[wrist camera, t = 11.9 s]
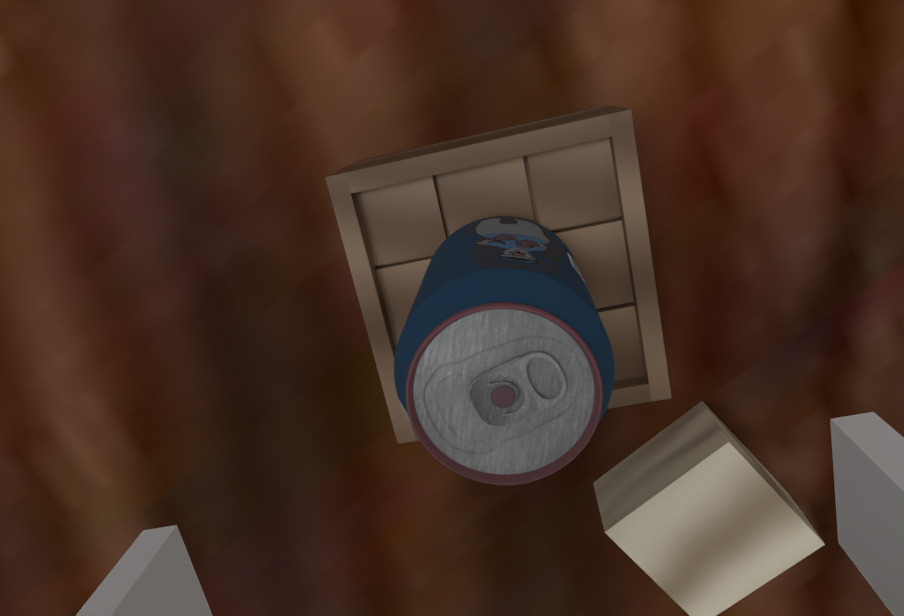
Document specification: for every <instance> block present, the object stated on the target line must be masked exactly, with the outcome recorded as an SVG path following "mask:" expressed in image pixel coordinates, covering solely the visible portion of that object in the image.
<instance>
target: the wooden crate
mask: <svg viewBox="0 0 904 616" xmlns="http://www.w3.org/2000/svg"><path fill="white" fill-rule="evenodd" d="M325 178H326V182H327V186H328V189H329V193H330V197H331V200H332V204H333V208H334V212H335V215H336V219H337V223H338V226H339V230H340V234H341V237H342V241H343V245H344V248H345V252H346V256H347V259H348V263H349V267H350V270H351V274H352V278H353V281H354V285H355V289H356V292H357V296H358V300H359V303H360V307H361V311H362V314H363V318H364V322H365V326H366V329H367V333H368V337H369V340H370V344H371V348H372V351H373V355H374V359H375V362H376V366H377V370H378V373H379V377H380V381H381V384H382V388H383V392H384V395H385V399H386V403H387V406H388V410H389V414H390V417H391V421H392V425H393V428H394V432H395V436H396V439H397V443H398V444H401V443H406V442H412V441H418V440H419V439H418V437H417V435H416V434H415V432H414V430H413V427H412V425H411V423H410V422H409V420H408V419H407V417H406V415H405V413H404V411H403V409H402V407H401V404H400V402H399V399H398V395H397V391H396V387H395V380H394V359H395V353H396V348H397V344H398V340H399V338H400V335H401V332H402V330H403V327H404V325H405V322H406V320H407V317H408V315H409V312H410V310H411V307H412V305H413V302H414V300H415V297H416V295H417V293H418V290H419V288H420V285H421V283H422V280H423V278H424V275H425V273H426V270H427V268H428V265H429V263H430V261H431V259H432V257H433V255H434V253H435V252H436V250H437V249H438V248H439V246H440V245H441V244H442V243H443V242H444V241H445V240H446V239H447V238H448V237H449V236H450V235H451V234H452V233H454V232H455V231H456V230H458V229H459V228H461V227H463V226H465V225H466V224H469V223H471V222H473V221H476V220H479V219H483V218H487V217H494V216H513V217H519V218H524V219H527V220H530V221H533V222H536V223H538V224H540V225H542V226H544V227H545V228H547V229H548V230H550V231H551V232H553V233H554V234H555V235H556V236H558V237H559V238H560V239H561V240H562V241H563V242H564V244H565V245H566V246H567V247H568V249H569V250H570V252H571V253H572V255H573V256H574V258H575V260H576V263H577V265H578V267H579V270H580V272H581V274H582V277H583V279H584V281H585V284H586V286H587V288H588V291H589V293H590V295H591V298H592V300H593V302H594V305H595V307H596V309H597V312H598V314H599V316H600V319H601V321H602V323H603V326H604V328H605V330H606V333H607V335H608V338H609V341H610V344H611V347H612V352H613V357H614V369H615V370H614V384H613V390H612V394H611V398H610V401H609V404H608V406H607V409H610V408H616V407H622V406H628V405H634V404H640V403H646V402H652V401H658V400H664V399H670V398H672V397H671V390H670V383H669V376H668V369H667V362H666V355H665V347H664V340H663V333H662V326H661V319H660V312H659V305H658V298H657V290H656V283H655V276H654V269H653V262H652V255H651V248H650V241H649V233H648V226H647V219H646V212H645V205H644V198H643V191H642V184H641V176H640V169H639V162H638V155H637V148H636V141H635V134H634V127H633V119H632V112H631V109H626V108H619V107H613V106H602V107H597V108H593V109H588V110H584V111H579V112H575V113H570V114H566V115H561V116H557V117H553V118H548V119H544V120H539V121H535V122H530V123H526V124H521V125H517V126H512V127H508V128H503V129H499V130H495V131H490V132H486V133H481V134H477V135H472V136H468V137H463V138H459V139H454V140H450V141H445V142H441V143H436V144H432V145H428V146H423V147H419V148H414V149H410V150H405V151H401V152H396V153H392V154H387V155H383V156H378V157H374V158H370V159H365V160H361V161H357V162H355V163H353V164H351V165H349V166H347V167H345V168H343V169H341V170H339V171H337V172H335V173H333V174H331V175H329V176H327V177H325Z"/></svg>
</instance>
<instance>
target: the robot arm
mask: <svg viewBox="0 0 904 616" xmlns="http://www.w3.org/2000/svg"><path fill="white" fill-rule="evenodd" d="M830 422H831V438H832V453H833V468H834V484H835V499H836V514H837V530H838V543H839V544H840V546H841V547H842V548H843V549H844V551H845V552H846V553H847V555H848V556H849V557H850V559H851V560H852V561H853V563H854V564H855V565H856V567H857V568H858V569H859V571H860V572H861V573H862V575H863V576H864V577H865V579H866V580H867V581H868V583H869V584H870V585H871V587H872V588H873V589H874V591H875V592H876V593H877V595H878V596H879V597H880V599H881V600H882V601H883V603H884V604H885V605H886V607H887V608H888V609H889V611H890V612H891V613H892V615H893V616H904V438H903V437H902V436H901V435H900V434H899V433H897V432H896V431H895V430H894V429H893V428H892V427H891V426H889V425H888V424H887V423H886V422H885V421H884V420H882V419H881V418H880V417H879V416H878V415H877V414H875V413H874V412H870V413H864V414H857V415H851V416H845V417H839V418H833V419H830ZM76 616H212V613H211V611H210V608H209V605H208V603H207V600H206V598H205V595H204V593H203V590H202V588H201V585H200V583H199V580H198V578H197V575H196V573H195V570H194V568H193V565H192V562H191V560H190V557H189V555H188V552H187V550H186V547H185V545H184V542H183V540H182V537H181V535H180V532H179V530H178V527H177V525H174V526H168V527H162V528H156V529H149V530H143V531H142V533H141V534H140V535H139V536H138V538H137V539H136V540H135V541H134V543H133V544H132V545H131V546H130V548H129V549H128V550H127V551H126V553H125V554H124V555H123V557H122V558H121V559H120V560H119V562H118V563H117V564H116V565H115V567H114V568H113V569H112V570H111V572H110V573H109V574H108V575H107V577H106V578H105V579H104V581H103V582H102V583H101V584H100V586H99V587H98V588H97V589H96V591H95V592H94V593H93V594H92V596H91V597H90V598H89V599H88V601H87V602H86V603H85V605H84V606H83V607H82V608H81V610H80V611H79V612H78V613H77V615H76Z"/></svg>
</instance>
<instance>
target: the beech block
mask: <svg viewBox="0 0 904 616" xmlns="http://www.w3.org/2000/svg"><path fill="white" fill-rule="evenodd" d="M593 485H594V489H595V494H596V498H597V502H598V506H599V511H600V515H601V519H602V523H603V528H604V532H605V533H606V534H607V535H608V536H609V537H610V538H611V539H612V540H613V541H614V542H615V543H616V544H617V545H618V546H619V547H620V548H621V549H622V550H623V551H624V552H625V553H626V554H627V555H628V556H629V557H630V558H631V559H632V560H633V561H634V562H635V563H636V564H637V565H638V566H639V567H640V568H642V569H643V570H644V571H645V572H646V573H647V574H648V575H649V576H650V577H651V578H652V579H653V580H654V581H655V582H656V583H657V584H658V585H659V586H660V587H661V588H662V589H663V590H664V591H665V592H666V593H667V594H668V595H669V596H670V597H671V598H672V599H673V600H674V601H675V602H676V603H677V604H678V605H679V606H680V607H681V608H682V609H683V610H684V611H685V612H686V613H687V614H688V615H689V616H716V615H718V614H719V613H721V612H722V611H724V610H725V609H727V608H729V607H730V606H732V605H733V604H735V603H736V602H738V601H739V600H741V599H742V598H744V597H745V596H747V595H748V594H750V593H752V592H753V591H755V590H756V589H758V588H759V587H761V586H762V585H764V584H765V583H767V582H768V581H770V580H771V579H773V578H774V577H776V576H778V575H779V574H781V573H782V572H784V571H785V570H787V569H788V568H790V567H791V566H793V565H794V564H796V563H797V562H799V561H801V560H802V559H804V558H805V557H807V556H808V555H810V554H811V553H813V552H814V551H816V550H817V549H819V548H820V547H822V546H824V545H825V544H824V542H823V541H822V539H821V538H820V537H819V535H818V534H817V532H816V531H815V530H814V528H813V527H812V525H811V524H810V523H809V521H808V520H807V518H806V517H805V516H804V514H803V513H802V511H801V510H800V509H799V507H798V506H797V504H796V503H795V502H794V500H793V499H792V497H791V496H790V495H789V493H788V492H787V491H786V490H785V489H784V488H783V487H782V486H781V485H780V484H779V482H778V481H777V480H776V479H775V478H774V477H773V476H772V475H771V474H770V473H769V472H768V471H767V470H766V469H765V467H764V466H763V465H762V464H761V463H760V462H759V461H758V460H757V459H756V458H755V457H754V456H753V455H752V454H751V452H750V451H749V450H748V449H747V448H746V447H745V446H744V445H743V444H742V443H741V442H740V441H739V440H738V439H737V437H736V436H735V435H734V434H733V433H732V432H731V431H730V430H729V429H728V428H727V427H726V426H725V425H724V424H723V422H722V421H721V420H720V419H719V418H718V417H717V416H716V415H715V414H714V413H713V412H712V411H711V410H710V408H709V407H708V406H707V405H706V404H705V403H704V402H703V401H701V402H699V403H698V404H697V405H695V406H694V407H693V408H691V409H690V410H689V411H688V412H686V413H685V414H684V415H682V416H681V417H680V418H678V419H677V420H676V421H674V422H673V423H672V424H670V425H669V426H668V427H666V428H665V429H664V430H662V431H661V432H660V433H658V434H657V435H656V436H654V437H653V438H652V439H650V440H649V441H648V442H646V443H645V444H644V445H643V446H641V447H640V448H639V449H637V450H636V451H635V452H633V453H632V454H631V455H629V456H628V457H627V458H625V459H624V460H623V461H621V462H620V463H619V464H617V465H616V466H615V467H613V468H612V469H611V470H609V471H608V472H607V473H605V474H604V475H603V476H602V477H600V478H599V479H598V480H596V481H595V482H594V483H593Z"/></svg>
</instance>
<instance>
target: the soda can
mask: <svg viewBox="0 0 904 616" xmlns="http://www.w3.org/2000/svg"><path fill="white" fill-rule="evenodd" d="M614 370H615V369H614V357H613V352H612V347H611V344H610V341H609V338H608V335H607V333H606V330H605V328H604V326H603V323H602V321H601V319H600V316H599V314H598V312H597V309H596V307H595V305H594V302H593V300H592V298H591V295H590V293H589V291H588V288H587V286H586V284H585V281H584V279H583V277H582V274H581V272H580V270H579V267H578V265H577V263H576V260H575V258H574V256H573V255H572V253H571V252H570V250H569V249H568V247H567V246H566V245H565V244H564V242H563V241H562V240H561V239H560V238H559V237H558V236H556V235H555V234H554V233H553V232H551V231H550V230H548V229H547V228H545V227H544V226H542V225H540V224H538V223H536V222H533V221H530V220H527V219H524V218H519V217H513V216H494V217H487V218H483V219H479V220H476V221H473V222H471V223H469V224H466V225H465V226H463V227H461V228H459V229H458V230H456V231H455V232H454V233H452V234H451V235H450V236H449V237H448V238H447V239H446V240H445V241H444V242H443V243H442V244H441V245H440V246H439V248H438V249H437V250H436V252H435V253H434V255H433V257H432V259H431V261H430V263H429V265H428V268H427V270H426V273H425V275H424V278H423V280H422V283H421V285H420V288H419V290H418V293H417V295H416V297H415V300H414V302H413V305H412V307H411V310H410V312H409V315H408V317H407V320H406V322H405V325H404V327H403V330H402V332H401V335H400V338H399V340H398V344H397V348H396V353H395V359H394V380H395V387H396V391H397V395H398V399H399V402H400V404H401V407H402V409H403V411H404V413H405V415H406V417H407V419H408V420H409V422H410V423H411V425H412V427H413V430H414V432H415V434H416V435H417V437H418V439H419V440H420V442H421V443H422V445H423V446H424V447H425V448H426V450H427V451H428V452H429V453H430V454H431V455H432V456H433V457H434V458H435V459H436V460H438V461H439V462H440V463H441V464H443V465H444V466H445V467H447V468H448V469H450V470H452V471H453V472H455V473H457V474H459V475H461V476H464V477H466V478H469V479H472V480H475V481H478V482H483V483H487V484H494V485H518V484H524V483H529V482H533V481H536V480H539V479H542V478H544V477H546V476H549V475H551V474H553V473H555V472H556V471H558V470H560V469H561V468H563V467H564V466H566V465H567V464H568V463H570V462H571V461H572V460H573V459H574V458H575V457H576V456H577V455H578V454H579V453H580V452H581V451H582V450H583V449H584V448H585V446H586V445H587V443H588V442H589V441H590V439H591V437H592V435H593V434H594V431H595V429H596V427H597V425H598V424H599V422H600V420H601V419H602V417H603V415H604V413H605V411H606V409H607V406H608V404H609V401H610V398H611V394H612V390H613V384H614Z"/></svg>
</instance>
